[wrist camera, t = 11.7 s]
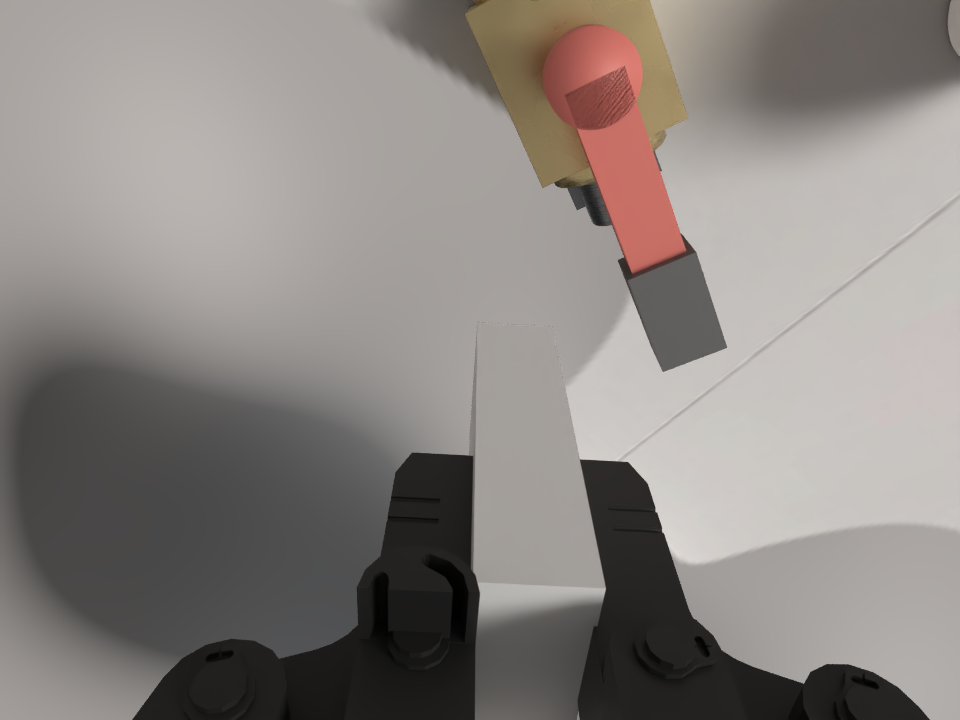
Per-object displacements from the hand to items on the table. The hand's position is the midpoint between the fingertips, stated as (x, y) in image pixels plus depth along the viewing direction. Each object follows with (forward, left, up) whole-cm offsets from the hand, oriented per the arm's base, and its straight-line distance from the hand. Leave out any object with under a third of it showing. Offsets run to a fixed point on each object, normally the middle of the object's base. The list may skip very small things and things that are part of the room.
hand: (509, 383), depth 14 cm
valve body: (-2, +5, -26) cm, 27 cm away
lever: (+4, +5, -17) cm, 18 cm away
